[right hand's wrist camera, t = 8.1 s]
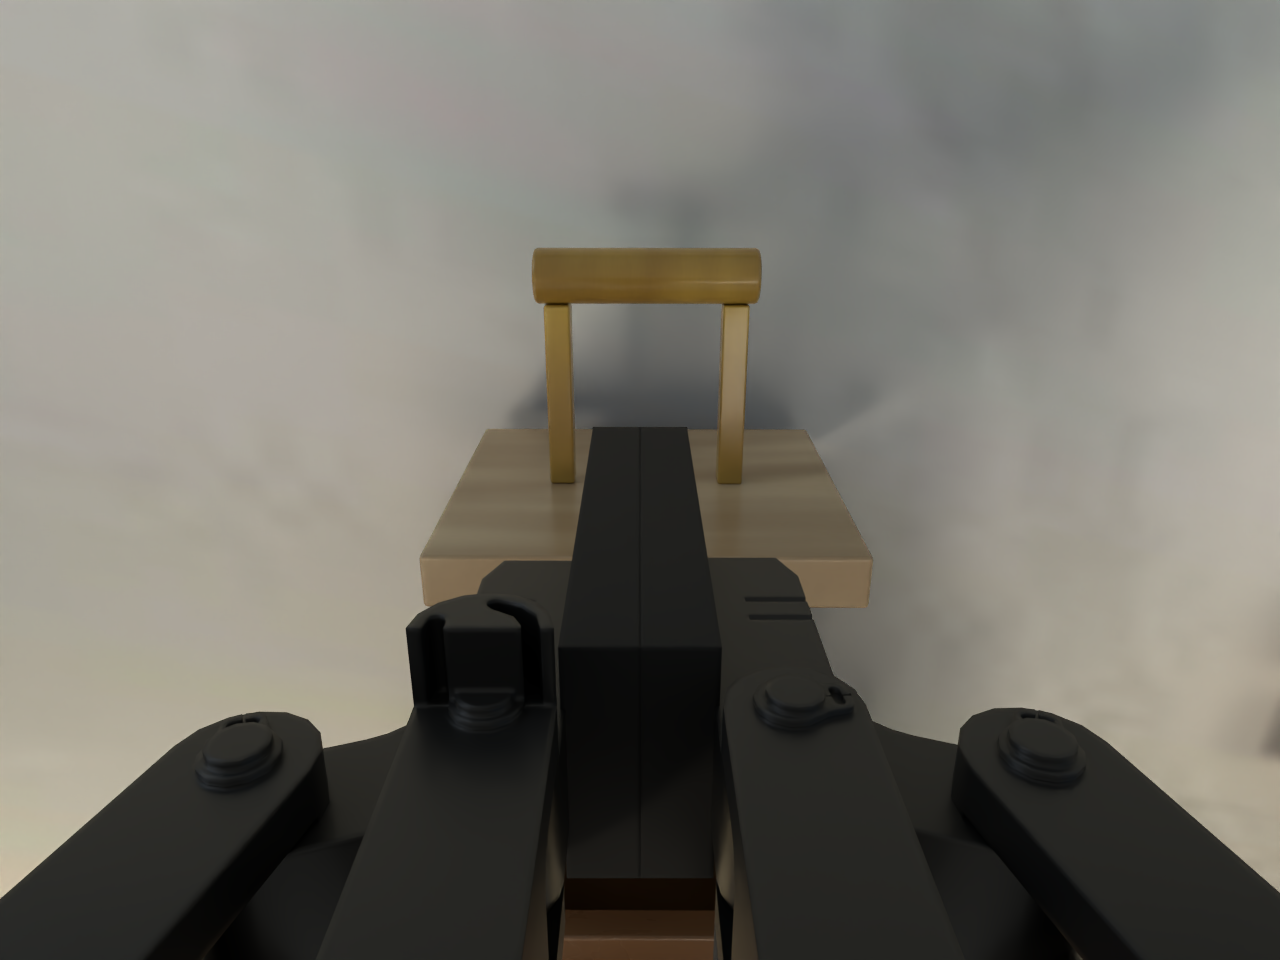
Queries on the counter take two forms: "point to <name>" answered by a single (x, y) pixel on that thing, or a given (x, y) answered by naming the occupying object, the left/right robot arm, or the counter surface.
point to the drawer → (723, 466)
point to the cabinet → (638, 935)
